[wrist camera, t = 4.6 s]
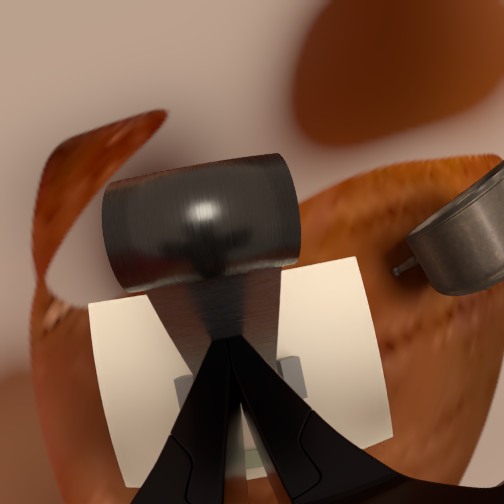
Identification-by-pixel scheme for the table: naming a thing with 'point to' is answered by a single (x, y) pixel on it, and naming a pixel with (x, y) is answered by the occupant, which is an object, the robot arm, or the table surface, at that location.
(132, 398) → the switch box
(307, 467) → the robot arm
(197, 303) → the breaker lever
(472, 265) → the alarm clock
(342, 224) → the table surface
